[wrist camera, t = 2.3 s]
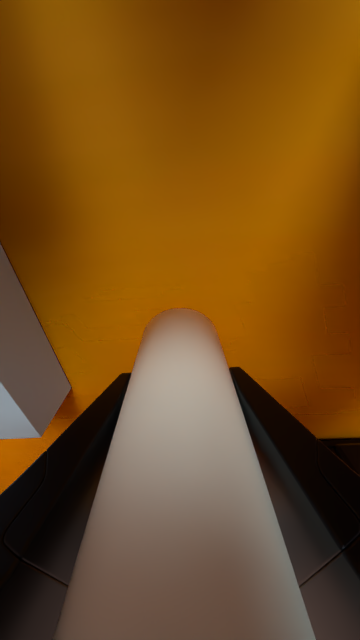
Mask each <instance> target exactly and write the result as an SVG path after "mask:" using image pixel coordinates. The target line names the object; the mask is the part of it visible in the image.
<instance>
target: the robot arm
mask: <svg viewBox="0 0 360 640" xmlns="http://www.w3.org/2000/svg"><path fill="white" fill-rule="evenodd" d="M229 371H230V374H231V377H232V381H233V384H234V387H235V390H236V393H237V396H238V399H239V402H240V405H241V408H242V412H243V415H244V418H245V421H246V424H247V427H248V430H249V433H250V436H251V440H252V443H253V446H254V449H255V452H256V455H257V458H258V461H259V464H260V468H261V471H262V474H263V477H264V480H265V483H266V486H267V489H268V492H269V496H270V499H271V502H272V505H273V508H274V511H275V514H276V517H277V520H278V524H279V527H280V530H281V533H282V536H283V539H284V542H285V545H286V548H287V551H288V555H289V558H290V561H291V564H292V567H293V570H294V573H295V576H296V579H297V583H298V586H299V589H300V592H301V595H302V598H303V601H304V604H305V607H306V611H307V614H308V617H309V620H310V623H311V626H312V629H313V632H314V635H315V639H316V640H360V439H354V440H330V441H320V440H317V438H316V437H315V436H314V435H313V434H312V433H311V432H310V431H309V430H308V429H307V428H305V427H304V426H303V425H302V424H301V423H300V422H299V421H298V420H297V419H296V418H295V417H294V416H292V415H291V414H290V413H289V412H288V411H287V410H286V409H285V408H284V407H283V406H282V405H281V404H279V403H278V402H277V401H276V400H275V399H274V398H273V397H272V396H271V395H270V394H269V393H267V392H266V391H265V390H264V389H263V388H262V387H261V386H260V385H259V384H258V383H257V382H256V381H254V380H253V379H252V378H251V377H250V376H249V375H248V374H247V373H246V372H245V371H244V370H242V369H241V368H240V367H230V368H229ZM131 374H132V373H122V374H120V375H119V376H118V377H117V378H116V379H115V380H114V381H113V382H112V383H111V384H110V385H109V387H108V388H107V389H106V390H105V391H104V392H103V393H102V394H101V395H100V396H99V397H98V398H97V399H96V400H95V401H94V402H93V403H92V404H91V405H90V406H89V407H88V408H87V409H86V410H85V411H84V412H83V413H82V414H81V415H80V416H79V417H78V418H77V419H76V420H75V421H74V422H73V423H72V424H71V425H70V426H69V427H68V428H67V429H66V430H65V431H64V432H63V433H62V434H61V435H60V436H59V437H58V438H57V439H56V440H55V441H54V443H53V444H52V445H51V446H50V447H49V448H48V449H47V451H45V452H44V453H43V454H42V455H41V456H40V457H39V458H38V459H37V460H36V461H35V462H34V463H33V464H32V465H31V466H30V467H29V468H28V469H27V470H26V471H25V472H24V473H23V474H22V475H21V476H20V477H19V478H18V479H17V480H16V481H14V482H13V483H12V484H11V485H10V486H9V487H8V488H7V489H6V490H5V491H4V492H3V493H2V494H1V495H0V640H52V639H53V636H54V633H55V629H56V626H57V622H58V619H59V616H60V612H61V609H62V606H63V602H64V599H65V596H66V592H67V589H68V585H69V582H70V579H71V575H72V572H73V569H74V565H75V562H76V559H77V555H78V552H79V549H80V545H81V542H82V538H83V535H84V532H85V528H86V525H87V522H88V518H89V515H90V512H91V508H92V505H93V501H94V498H95V495H96V491H97V488H98V485H99V481H100V478H101V475H102V471H103V468H104V464H105V461H106V458H107V454H108V451H109V448H110V444H111V441H112V438H113V434H114V431H115V427H116V424H117V421H118V417H119V414H120V411H121V407H122V404H123V401H124V397H125V394H126V391H127V387H128V384H129V380H130V377H131Z"/></svg>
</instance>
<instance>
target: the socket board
mask: <svg viewBox="0 0 360 640" xmlns="http://www.w3.org/2000/svg"><path fill="white" fill-rule="evenodd" d="M70 390H71V386H70V384H69V382H68V380H67V378H66V376H65V374H64V372H63V370H62V368H61V366H60V364H59V362H58V360H57V358H56V356H55V354H54V351H53V349H52V347H51V345H50V343H49V341H48V339H47V337H46V335H45V333H44V331H43V329H42V327H41V325H40V323H39V321H38V319H37V317H36V315H35V313H34V311H33V309H32V307H31V305H30V303H29V301H28V299H27V297H26V295H25V292H24V290H23V288H22V286H21V284H20V282H19V280H18V278H17V276H16V274H15V272H14V270H13V268H12V266H11V264H10V262H9V260H8V258H7V256H6V254H5V252H4V250H3V248H2V246H1V244H0V439H14V438H36V437H41V436H42V435H43V433H44V431H45V430H46V428H47V427H48V425H49V423H50V422H51V420H52V419H53V417H54V415H55V414H56V412H57V410H58V409H59V407H60V406H61V404H62V402H63V401H64V399H65V398H66V396H67V394H68V393H69V391H70Z"/></svg>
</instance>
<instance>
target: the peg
mask: <svg viewBox="0 0 360 640" xmlns="http://www.w3.org/2000/svg"><path fill="white" fill-rule="evenodd" d="M52 640H316V639H315V635H314V632H313V629H312V626H311V623H310V620H309V617H308V614H307V611H306V607H305V604H304V601H303V598H302V595H301V592H300V589H299V586H298V583H297V579H296V576H295V573H294V570H293V567H292V564H291V561H290V558H289V555H288V551H287V548H286V545H285V542H284V539H283V536H282V533H281V530H280V527H279V524H278V520H277V517H276V514H275V511H274V508H273V505H272V502H271V499H270V496H269V492H268V489H267V486H266V483H265V480H264V477H263V474H262V471H261V468H260V464H259V461H258V458H257V455H256V452H255V449H254V446H253V443H252V440H251V436H250V433H249V430H248V427H247V424H246V421H245V418H244V415H243V412H242V408H241V405H240V402H239V399H238V396H237V393H236V390H235V387H234V384H233V381H232V377H231V374H230V371H229V368H228V365H227V362H226V359H225V356H224V353H223V349H222V346H221V343H220V340H219V337H218V334H217V331H216V328H215V326H214V325H213V323H212V322H211V321H210V320H209V319H208V318H207V317H206V316H205V315H203V314H201V313H200V312H197V311H195V310H191V309H186V308H175V309H170V310H166V311H164V312H161V313H160V314H158V315H156V316H155V317H154V318H153V319H152V320H150V322H149V323H148V324H147V326H146V328H145V330H144V333H143V337H142V340H141V343H140V347H139V350H138V354H137V357H136V360H135V364H134V367H133V370H132V374H131V377H130V380H129V384H128V387H127V391H126V394H125V397H124V401H123V404H122V407H121V411H120V414H119V417H118V421H117V424H116V427H115V431H114V434H113V438H112V441H111V444H110V448H109V451H108V454H107V458H106V461H105V464H104V468H103V471H102V475H101V478H100V481H99V485H98V488H97V491H96V495H95V498H94V501H93V505H92V508H91V512H90V515H89V518H88V522H87V525H86V528H85V532H84V535H83V538H82V542H81V545H80V549H79V552H78V555H77V559H76V562H75V565H74V569H73V572H72V575H71V579H70V582H69V585H68V589H67V592H66V596H65V599H64V602H63V606H62V609H61V612H60V616H59V619H58V622H57V626H56V629H55V633H54V636H53V639H52Z"/></svg>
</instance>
